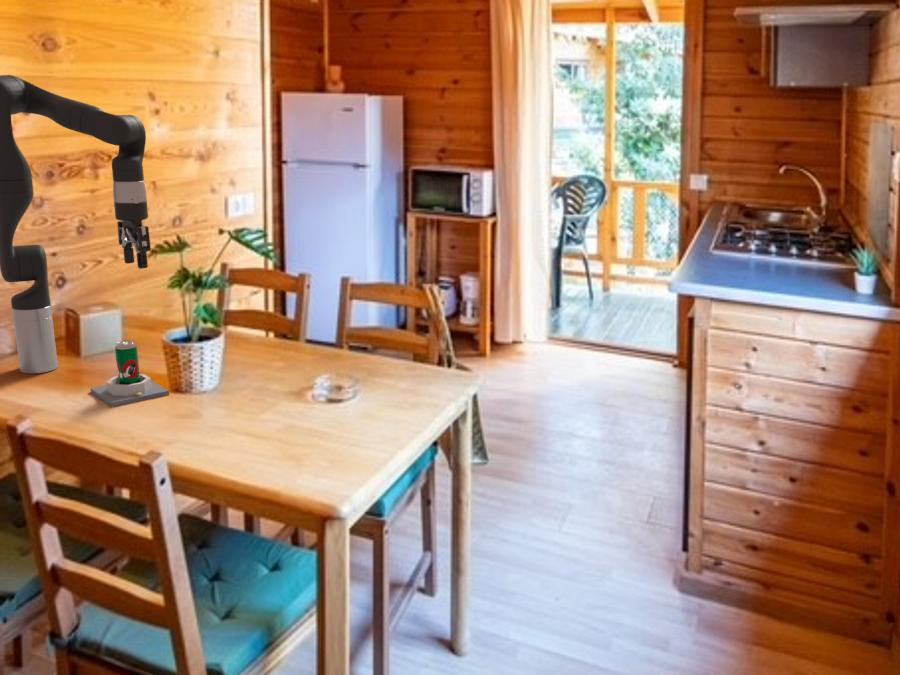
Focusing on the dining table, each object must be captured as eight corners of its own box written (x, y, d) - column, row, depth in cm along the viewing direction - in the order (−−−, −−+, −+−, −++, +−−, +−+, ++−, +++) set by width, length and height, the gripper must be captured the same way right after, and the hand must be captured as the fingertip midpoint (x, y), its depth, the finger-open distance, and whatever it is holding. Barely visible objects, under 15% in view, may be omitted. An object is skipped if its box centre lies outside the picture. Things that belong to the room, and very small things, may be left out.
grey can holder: (90, 392, 211) (89, 378, 210) (146, 380, 220) (145, 367, 219) (111, 406, 201) (110, 392, 200) (169, 394, 210) (168, 381, 209)
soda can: (145, 387, 212) (140, 340, 208) (133, 393, 207) (128, 346, 204) (127, 385, 213) (122, 339, 210) (114, 392, 208) (109, 344, 205)
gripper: (104, 198, 211) (110, 263, 215) (126, 203, 200) (132, 271, 204) (134, 196, 215) (139, 260, 220) (157, 201, 205) (162, 268, 209)
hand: (136, 265), depth 212 cm, fingers open, 8 cm apart
